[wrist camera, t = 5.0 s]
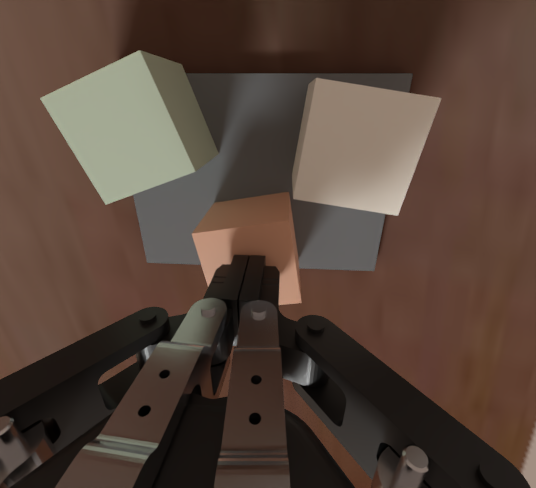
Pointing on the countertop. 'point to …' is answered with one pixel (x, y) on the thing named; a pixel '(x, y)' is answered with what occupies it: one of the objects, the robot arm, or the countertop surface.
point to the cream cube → (360, 145)
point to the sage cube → (133, 125)
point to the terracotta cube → (252, 238)
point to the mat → (259, 171)
